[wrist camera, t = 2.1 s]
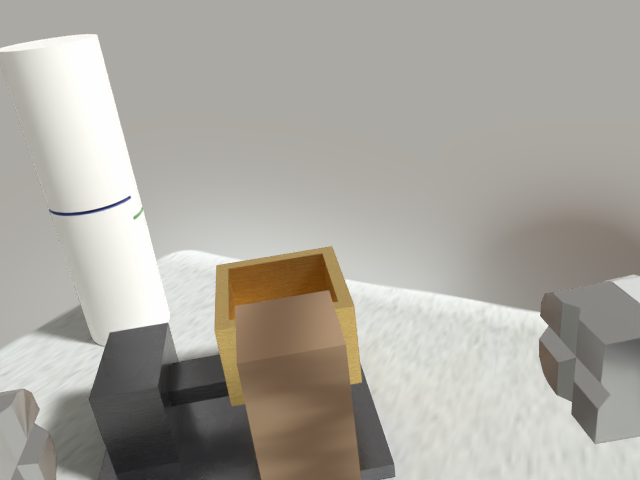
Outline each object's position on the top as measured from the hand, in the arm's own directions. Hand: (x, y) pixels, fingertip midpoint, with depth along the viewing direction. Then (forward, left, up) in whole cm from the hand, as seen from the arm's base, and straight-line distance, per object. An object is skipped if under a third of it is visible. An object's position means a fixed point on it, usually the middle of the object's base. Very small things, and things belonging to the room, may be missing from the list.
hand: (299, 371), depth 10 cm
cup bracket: (-4, +25, -23) cm, 34 cm away
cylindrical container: (-14, +41, -23) cm, 49 cm away
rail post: (0, +12, -23) cm, 26 cm away
